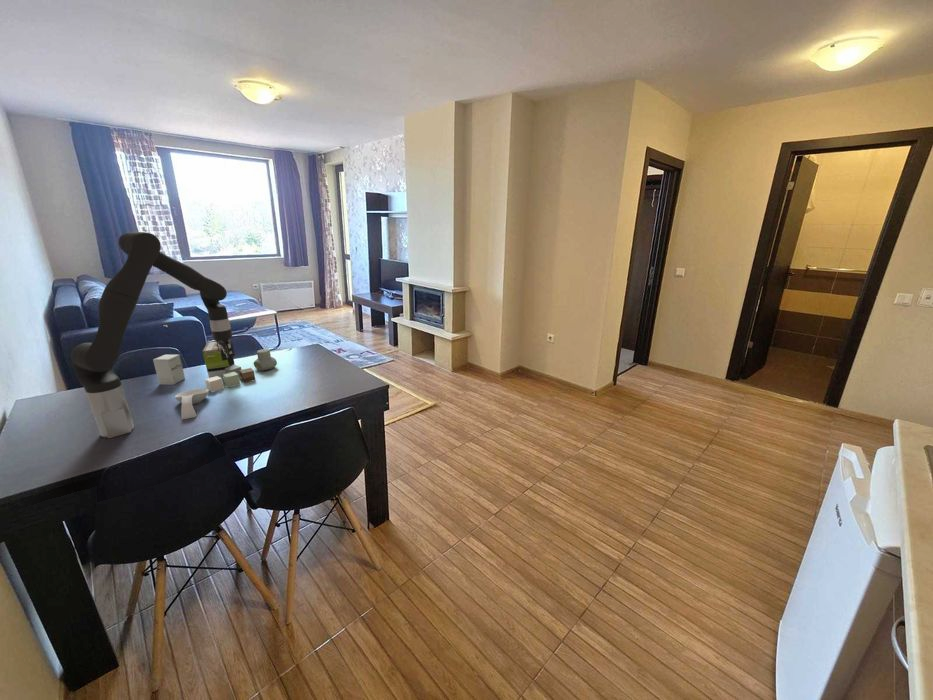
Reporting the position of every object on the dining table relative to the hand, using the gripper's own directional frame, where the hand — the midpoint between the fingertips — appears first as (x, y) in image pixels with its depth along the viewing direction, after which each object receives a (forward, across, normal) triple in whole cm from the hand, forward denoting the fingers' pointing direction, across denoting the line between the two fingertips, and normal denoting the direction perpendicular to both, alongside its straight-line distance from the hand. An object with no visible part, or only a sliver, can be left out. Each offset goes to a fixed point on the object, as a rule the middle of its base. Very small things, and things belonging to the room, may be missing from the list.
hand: (228, 362), depth 175 cm
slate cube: (+11, +9, -4) cm, 15 cm away
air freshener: (+11, +9, -19) cm, 24 cm away
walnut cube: (+11, 0, -7) cm, 13 cm away
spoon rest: (+11, -13, +19) cm, 26 cm away
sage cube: (+11, 0, 0) cm, 11 cm away
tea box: (+11, +20, -2) cm, 23 cm away
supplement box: (+11, +24, +18) cm, 32 cm away
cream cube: (+11, 0, +7) cm, 13 cm away
